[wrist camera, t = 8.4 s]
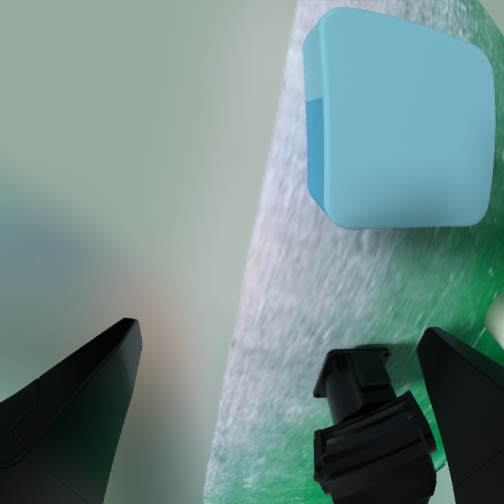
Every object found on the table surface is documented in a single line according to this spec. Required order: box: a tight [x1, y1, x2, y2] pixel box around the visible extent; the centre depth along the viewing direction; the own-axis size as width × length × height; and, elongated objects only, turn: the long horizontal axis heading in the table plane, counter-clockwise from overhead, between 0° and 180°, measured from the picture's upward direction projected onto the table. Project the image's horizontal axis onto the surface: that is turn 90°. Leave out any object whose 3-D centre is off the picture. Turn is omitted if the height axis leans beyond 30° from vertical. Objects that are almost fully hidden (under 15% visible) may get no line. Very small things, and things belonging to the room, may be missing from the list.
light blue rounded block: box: [303, 7, 496, 230], centre depth 14 cm, size 12×4×12 cm
